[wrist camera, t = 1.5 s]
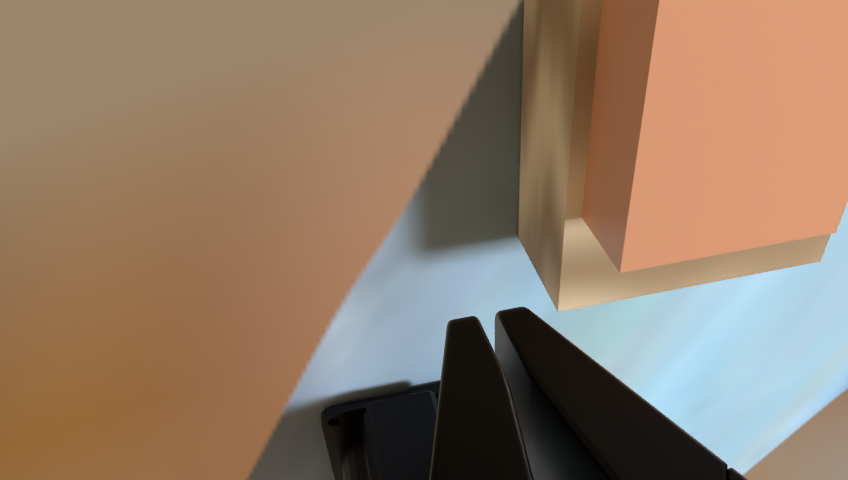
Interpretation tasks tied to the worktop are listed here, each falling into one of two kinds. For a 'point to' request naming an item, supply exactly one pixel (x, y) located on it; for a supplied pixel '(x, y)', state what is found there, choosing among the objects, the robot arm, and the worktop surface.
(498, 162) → the worktop surface
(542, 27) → the board
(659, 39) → the tile
